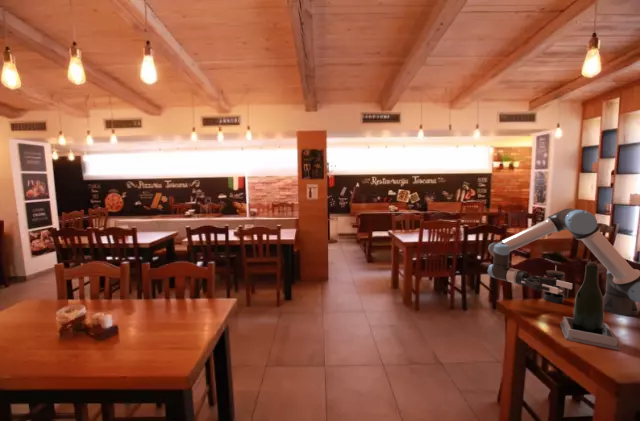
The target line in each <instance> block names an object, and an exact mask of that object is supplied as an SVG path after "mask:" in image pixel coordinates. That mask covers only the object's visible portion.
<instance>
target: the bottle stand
mask: <svg viewBox="0 0 640 421" xmlns="http://www.w3.org/2000/svg"><path fill="white" fill-rule="evenodd" d="M559 326H560V328H561V332H562V334H563V336H564V339H565V340H566V341H571V342H576V343H581V344H585V345H590V346H595V347H600V348H606V349H610V350H616V351H621V347H620V345H619V344H618V337H617V336H616V335H615V334H614V332H613V331H612V329H611V328H610V326H609V325H608V324H607V323H605V322H604V323H603V335H600V334H595V333H590V332H584V331H579V330H574V329H572V327H573V317H570V316H562V321H560V322H559Z"/></svg>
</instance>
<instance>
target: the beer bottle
mask: <svg viewBox="0 0 640 421" xmlns="http://www.w3.org/2000/svg"><path fill="white" fill-rule="evenodd" d="M603 297H604V295H603V293H602V291H601V288H600V284H599V265H598V262H595V261H587V264H585V272H584V278H583V282H582V284H581V285H580V287H579V289H578V290H577V293H576V294H575V300H574V305H573V306H574V307H573V317H572V318H573V327H572V329H574V330H579V331H584V332H590V333H595V334H600V335H603V323H605V322H604V321H605V319H604V318H605V310H604V298H603Z"/></svg>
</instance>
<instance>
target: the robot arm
mask: <svg viewBox="0 0 640 421" xmlns="http://www.w3.org/2000/svg"><path fill="white" fill-rule="evenodd" d="M561 231H562V232H563V231H568V232H569V233H570V234H571V235H572V236H573V238H574V239H575V240H578V241H582V242H583V244H584V245H585V246H586V248H587V249H588V250H590V252H591V253H592V254H593V255H594V257H595V258H597V260H598V261H599V262H600V263H601V264H602V266H603V267H605V269H606V270H607V271H606V279H605V280H606V281H605V294H604V295H603V298H604V311H606V312H609V313H612V314H616V315H621V316H629V317H630V316H631V317H635V316H639V308H638V305H637V303H638V304H640V270H639V269H636V268H635V269H634V268H633V267H632V266H631V265H630V263H628V262H627V260H626V259H625V258H624V257H623V256H622V255H621V253H619V251H617V249H616V248H615V247H614V245H613V244H611V242H610V241H609V240H608V239H607V238H606V237H605V236H604V235H603V233H602V232H601V226H600V225H599V224H598V220H597V218H596V216H595V215H594V214H593V213H591V212H589V211H587V210H585V209H577V208H571V207H569V208H564V209H561V210H559V211H557V212H555V213H553V214H551V215H549V216H547V217H545V219H544V220H543V221H540V222H539V223H537V224H534V225H532V226H530V227H528V228H525V229H524V230H521V231H520V232H518V233H515V234H513V235H511V236H509V237H506V238H504V239H502V240H500V241H498V242H492V243H490V244H489V245H488V252H489V254H490V255H491V256H492V257H493V260H492V262H493V263H492V264H490V265H488V268H487V274H488V276H489V277H491V278H494V279H495V280H496V279H497V280H501V281H505V282H509V283H511V284H512V285H513V284H517V285H519V286H523V287H527V288H530V289H532V290H534V291H538V292H542V291H544V292H545V291H546V292H551V293H555V294H559V293H558V290H559V289H560V288H559V287H561V288H563V287H564V289H567V288H568V290H573V283H571V282H567V281H564V280H563V281H564V282H563V281H559V280H560V279H559V278H556V279H555V277H549V276H548V277H546V276H539V275H530V273H529V272H528V271H524V270H520V269H516V268H512V267H510V266H509V265H510V253H511V252H512V251H514V250H517V249H519V248H521V247H525V246H526V245H528V244H530V243H532V242H535V241H536V240H538V239H541V238H543V237H545V236H548V235H550V234H552V233H555V234H556V233H559V232H561ZM558 279H559V280H558ZM545 284H546V285H545ZM551 284H553V285H556V286H558V288H556V287H552V286H551Z"/></svg>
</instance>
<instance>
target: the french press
mask: <svg viewBox="0 0 640 421" xmlns="http://www.w3.org/2000/svg"><path fill="white" fill-rule="evenodd" d="M551 263H552V264H554V265H555V270H551V269H550V270H546V271H545V272H546V274H547V276H548V277H549V278H555V279H556V278H558V280H559V281H563V282H565V281H564V280H562V279H563V278H565V275H566V273H565V272H564V271H559V270H557V266H558V264H559V265H560V264H561V262H560V261H551ZM544 285H547V284H544ZM550 286H552V287H556V288H559V286H556V285H553V284H550ZM564 293H565V288H564V287H562V289H561V288H559V290H558V294H555V293H551V292H547V291H544V297H543V300H545V301H547V302H549V303H552V304H553V303H554V304H563V303H564V302H565V300H564V299H568V298H569V289H568V288H566V296H565V294H564Z"/></svg>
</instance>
